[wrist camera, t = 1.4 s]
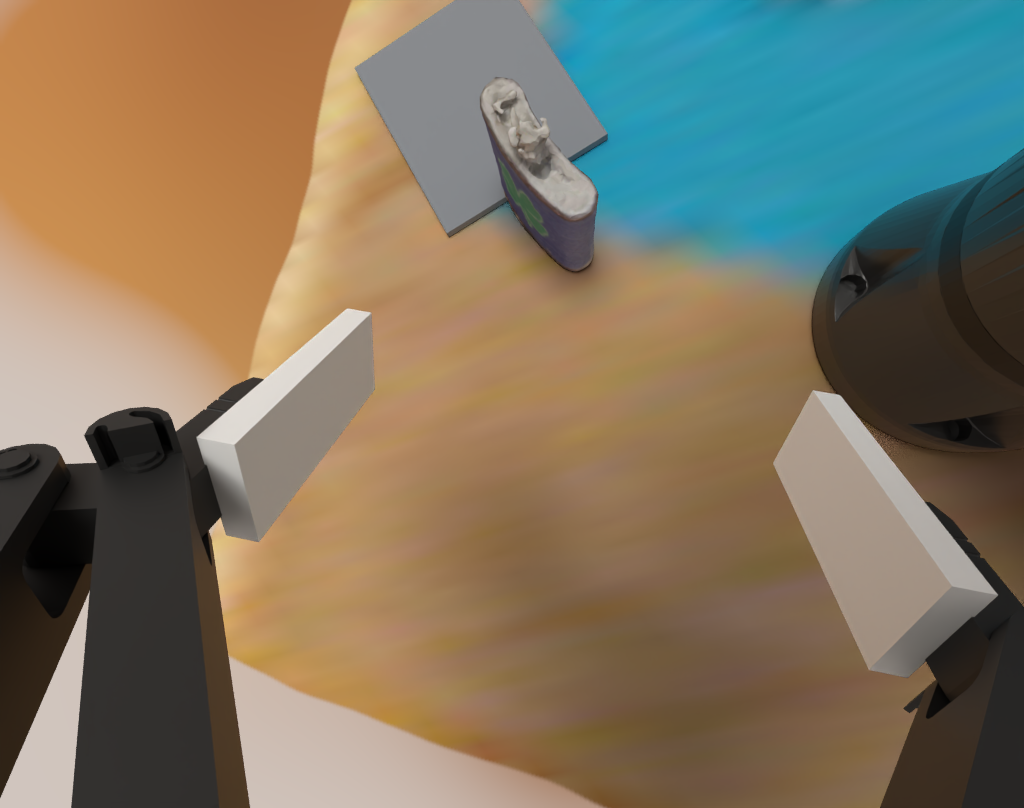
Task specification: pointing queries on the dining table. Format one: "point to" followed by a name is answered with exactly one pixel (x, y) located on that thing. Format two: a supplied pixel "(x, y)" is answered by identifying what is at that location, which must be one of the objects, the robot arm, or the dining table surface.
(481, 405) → the dining table surface
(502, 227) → the dining table surface
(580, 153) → the mat
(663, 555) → the dining table surface
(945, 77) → the dining table surface
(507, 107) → the flask
